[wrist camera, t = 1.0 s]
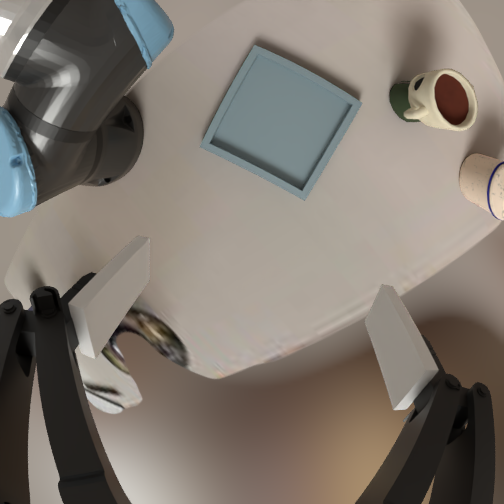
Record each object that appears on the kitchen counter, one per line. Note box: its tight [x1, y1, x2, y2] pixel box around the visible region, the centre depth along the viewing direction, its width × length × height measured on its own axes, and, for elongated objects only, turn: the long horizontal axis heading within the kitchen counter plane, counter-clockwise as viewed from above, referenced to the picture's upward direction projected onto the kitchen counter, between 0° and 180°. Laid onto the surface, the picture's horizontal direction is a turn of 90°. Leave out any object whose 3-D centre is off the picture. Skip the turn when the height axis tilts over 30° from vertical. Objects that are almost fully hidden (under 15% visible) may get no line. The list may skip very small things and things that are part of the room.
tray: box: [200, 45, 362, 201], centre depth 34 cm, size 16×16×2 cm
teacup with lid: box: [459, 153, 504, 220], centre depth 29 cm, size 12×9×12 cm
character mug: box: [390, 69, 478, 131], centre depth 26 cm, size 11×7×13 cm, turn 124°
